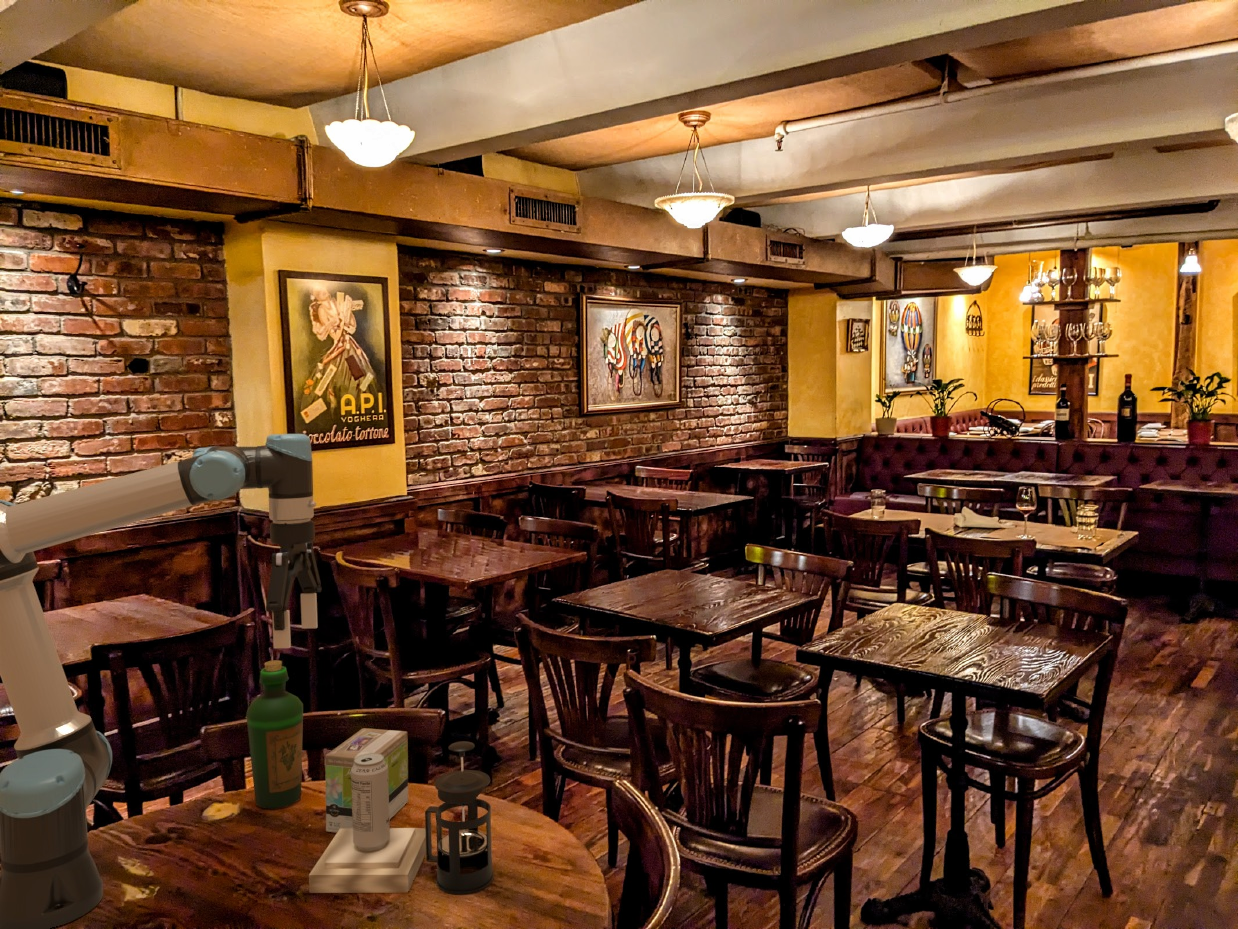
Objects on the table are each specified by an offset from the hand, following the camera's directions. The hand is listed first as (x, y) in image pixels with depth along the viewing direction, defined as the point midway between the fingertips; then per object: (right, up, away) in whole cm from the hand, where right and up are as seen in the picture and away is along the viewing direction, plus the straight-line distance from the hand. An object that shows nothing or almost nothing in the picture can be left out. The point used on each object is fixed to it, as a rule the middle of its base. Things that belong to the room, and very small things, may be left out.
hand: (296, 637), depth 167 cm
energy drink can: (+16, -34, -10) cm, 38 cm away
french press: (+32, -38, -14) cm, 51 cm away
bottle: (-9, -36, +17) cm, 41 cm away
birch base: (+16, -37, -9) cm, 42 cm away
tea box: (+10, -36, +10) cm, 39 cm away
